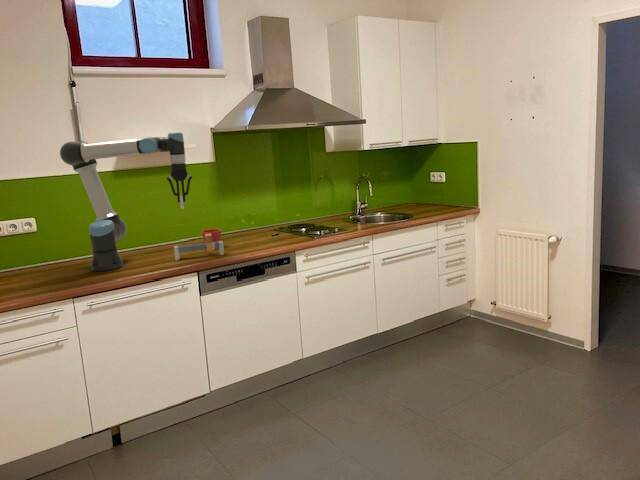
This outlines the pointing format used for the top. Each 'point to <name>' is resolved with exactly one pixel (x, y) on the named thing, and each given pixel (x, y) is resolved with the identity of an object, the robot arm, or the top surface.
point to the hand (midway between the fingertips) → (182, 208)
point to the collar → (209, 243)
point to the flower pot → (214, 232)
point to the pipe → (197, 248)
